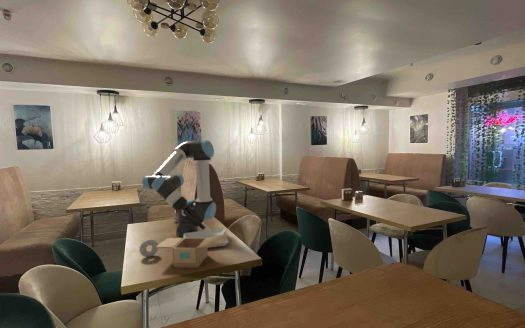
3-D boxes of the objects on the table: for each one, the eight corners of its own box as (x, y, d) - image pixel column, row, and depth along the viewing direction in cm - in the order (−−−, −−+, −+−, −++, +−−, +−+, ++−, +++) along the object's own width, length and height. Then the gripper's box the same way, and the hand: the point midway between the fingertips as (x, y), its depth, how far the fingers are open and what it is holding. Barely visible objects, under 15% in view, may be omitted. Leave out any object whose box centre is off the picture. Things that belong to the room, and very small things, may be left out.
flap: (227, 233, 146) (228, 235, 146) (206, 238, 147) (207, 239, 147) (221, 242, 133) (222, 244, 133) (198, 247, 134) (199, 248, 134)
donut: (140, 260, 146) (139, 242, 145) (139, 258, 149) (138, 240, 148) (159, 255, 151) (158, 238, 151) (158, 253, 154) (157, 236, 154)
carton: (169, 255, 151) (168, 237, 151) (207, 255, 149) (206, 237, 148) (155, 267, 136) (153, 248, 135) (197, 268, 133) (196, 248, 132)
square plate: (184, 238, 181) (183, 232, 180) (224, 233, 187) (224, 228, 187) (181, 253, 154) (181, 246, 154) (229, 248, 160) (229, 241, 160)
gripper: (177, 203, 147) (208, 233, 147) (166, 209, 134) (200, 242, 134) (186, 193, 146) (217, 223, 146) (176, 198, 133) (210, 231, 133)
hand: (209, 232), depth 140 cm, fingers closed
